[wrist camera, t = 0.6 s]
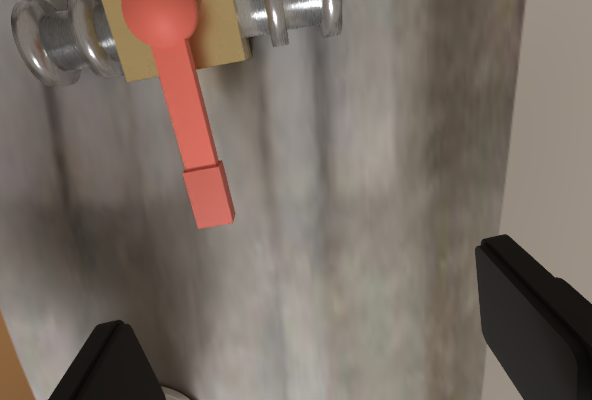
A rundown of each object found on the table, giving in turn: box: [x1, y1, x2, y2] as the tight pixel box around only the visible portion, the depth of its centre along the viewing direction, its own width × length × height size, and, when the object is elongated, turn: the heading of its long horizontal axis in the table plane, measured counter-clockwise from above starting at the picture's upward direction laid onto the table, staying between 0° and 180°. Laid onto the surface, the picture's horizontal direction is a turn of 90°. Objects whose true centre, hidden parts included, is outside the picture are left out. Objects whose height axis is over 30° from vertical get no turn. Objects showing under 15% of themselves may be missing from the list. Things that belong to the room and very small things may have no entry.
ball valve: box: [11, 0, 342, 88], centre depth 29 cm, size 7×22×9 cm, turn 100°
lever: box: [121, 0, 235, 229], centre depth 26 cm, size 16×4×2 cm, turn 10°
